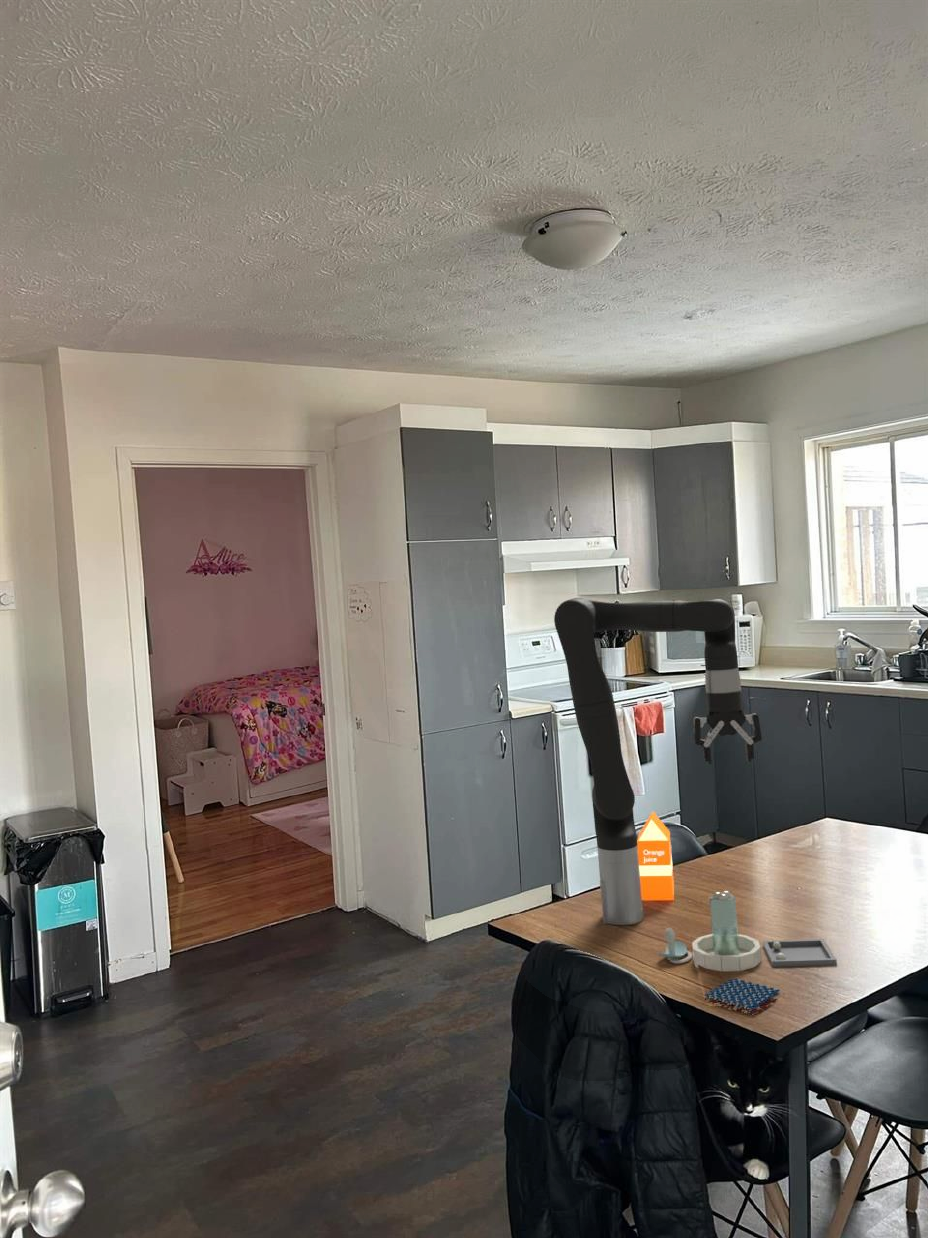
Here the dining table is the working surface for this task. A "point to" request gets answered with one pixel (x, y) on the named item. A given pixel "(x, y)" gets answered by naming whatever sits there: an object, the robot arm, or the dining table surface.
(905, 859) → the dining table surface
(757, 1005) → the woven mat
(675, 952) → the pacifier
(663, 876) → the orange juice
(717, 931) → the teal cylinder
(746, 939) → the bowl
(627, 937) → the dining table surface
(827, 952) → the parts tray
